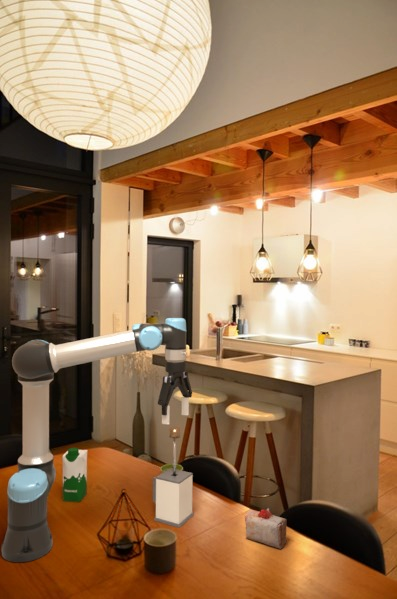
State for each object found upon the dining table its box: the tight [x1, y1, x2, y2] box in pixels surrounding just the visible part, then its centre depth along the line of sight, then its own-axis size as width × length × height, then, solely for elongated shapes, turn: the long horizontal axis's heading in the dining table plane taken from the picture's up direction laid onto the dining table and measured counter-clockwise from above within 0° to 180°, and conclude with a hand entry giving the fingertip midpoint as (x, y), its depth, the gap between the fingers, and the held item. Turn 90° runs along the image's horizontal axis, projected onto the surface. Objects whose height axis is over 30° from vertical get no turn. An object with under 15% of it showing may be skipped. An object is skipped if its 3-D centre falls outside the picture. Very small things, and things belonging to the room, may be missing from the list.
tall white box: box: [152, 468, 194, 528], centre depth 167 cm, size 10×14×16 cm
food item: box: [244, 508, 287, 550], centre depth 152 cm, size 14×8×10 cm, turn 58°
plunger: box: [168, 426, 181, 476], centre depth 166 cm, size 7×7×20 cm
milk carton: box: [61, 447, 88, 503], centre depth 182 cm, size 9×9×20 cm
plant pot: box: [160, 463, 184, 474], centre depth 192 cm, size 9×9×9 cm
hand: (175, 419), depth 166 cm, fingers open, 13 cm apart
